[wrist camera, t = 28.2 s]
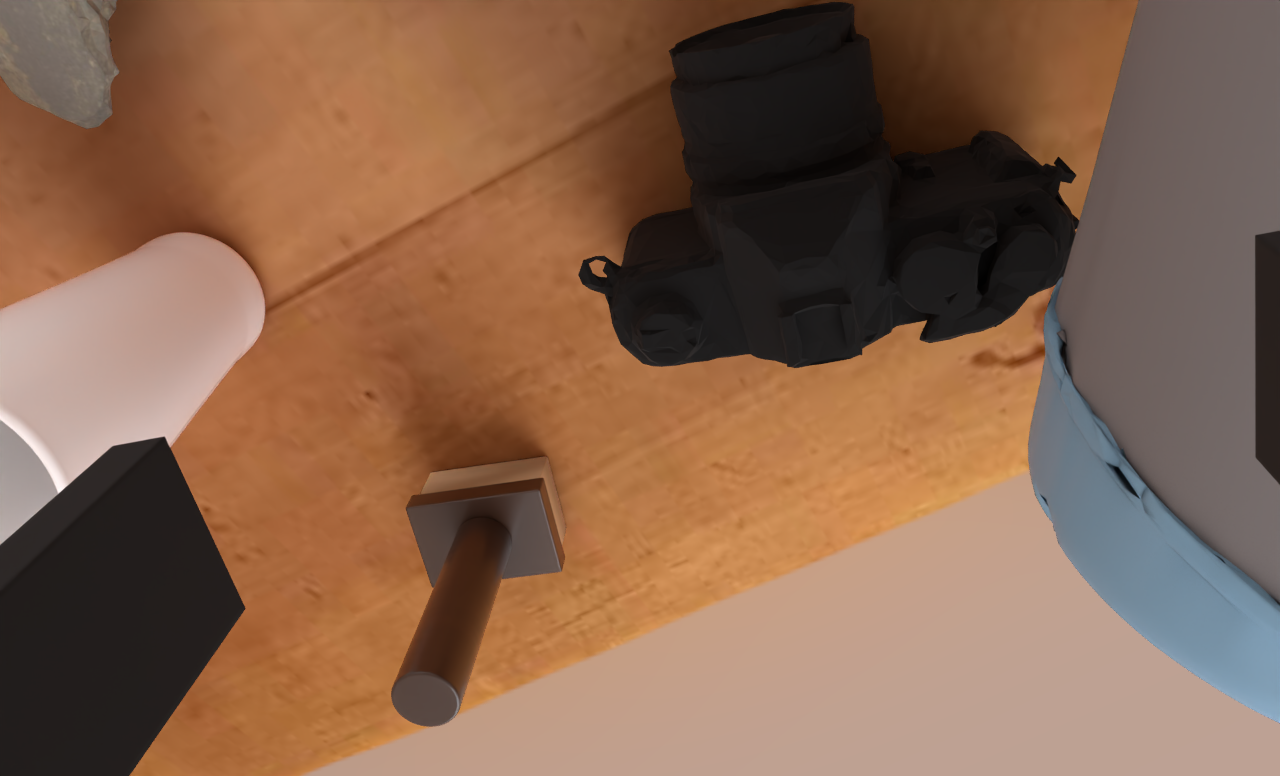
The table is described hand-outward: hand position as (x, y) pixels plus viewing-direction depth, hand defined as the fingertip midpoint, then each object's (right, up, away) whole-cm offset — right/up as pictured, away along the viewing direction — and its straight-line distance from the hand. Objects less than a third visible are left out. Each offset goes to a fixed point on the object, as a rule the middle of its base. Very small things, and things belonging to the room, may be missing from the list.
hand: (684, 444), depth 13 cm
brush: (-6, -4, +31) cm, 32 cm away
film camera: (+5, +9, +24) cm, 26 cm away
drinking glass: (-17, +4, +28) cm, 33 cm away
